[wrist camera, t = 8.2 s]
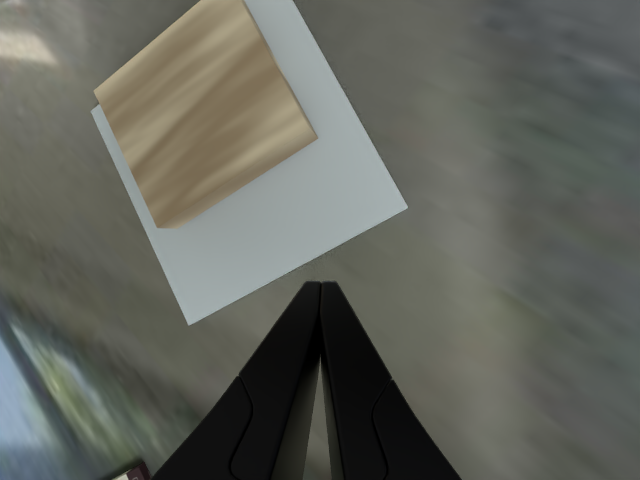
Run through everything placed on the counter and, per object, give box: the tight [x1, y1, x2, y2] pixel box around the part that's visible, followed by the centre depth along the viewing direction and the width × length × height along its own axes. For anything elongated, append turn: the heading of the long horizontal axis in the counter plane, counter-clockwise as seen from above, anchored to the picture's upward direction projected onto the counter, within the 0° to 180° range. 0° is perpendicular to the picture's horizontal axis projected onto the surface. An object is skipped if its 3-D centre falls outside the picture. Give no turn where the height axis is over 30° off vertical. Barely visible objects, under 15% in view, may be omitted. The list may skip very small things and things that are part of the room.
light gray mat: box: [91, 0, 408, 325], centre depth 21 cm, size 17×16×1 cm
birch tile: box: [94, 0, 318, 229], centre depth 20 cm, size 2×11×10 cm
